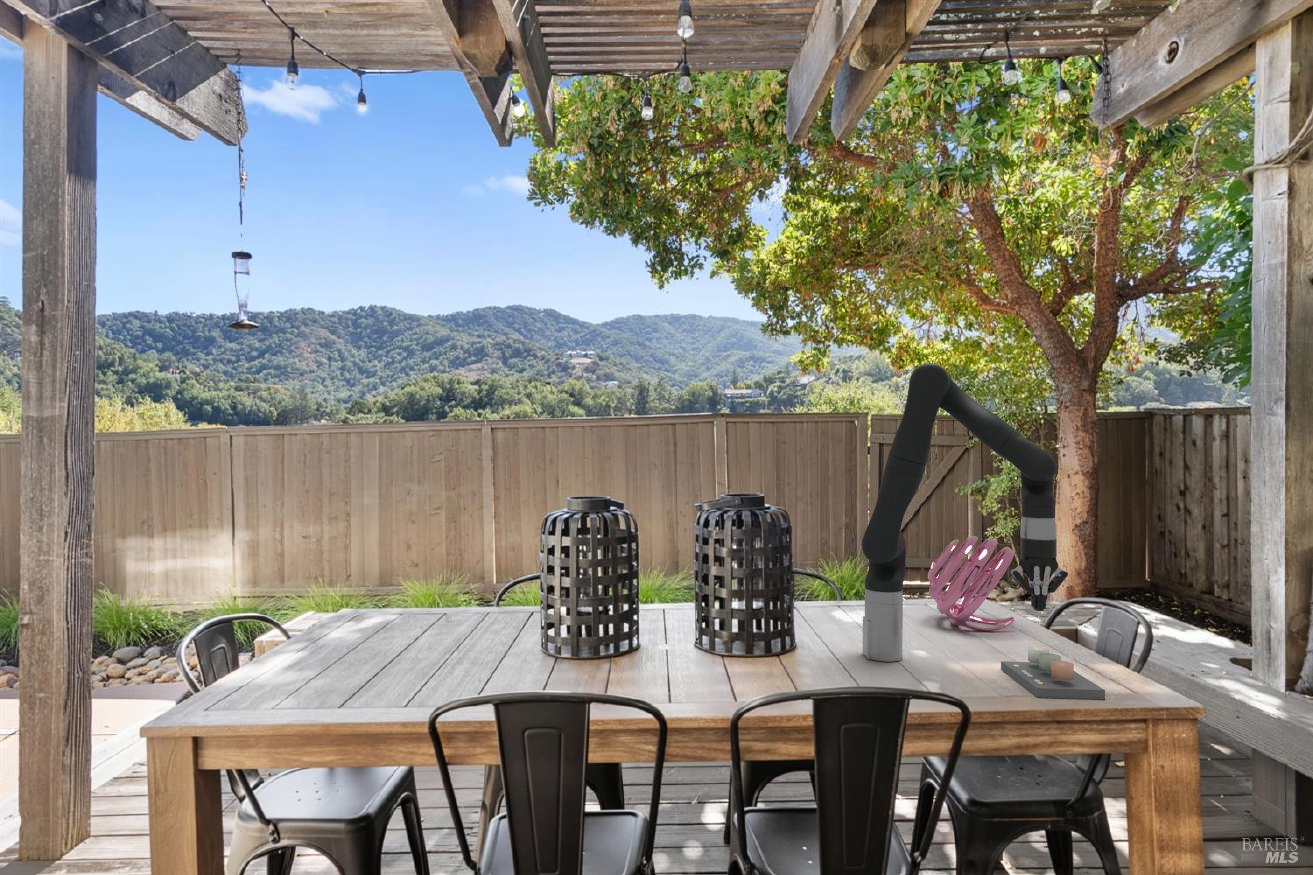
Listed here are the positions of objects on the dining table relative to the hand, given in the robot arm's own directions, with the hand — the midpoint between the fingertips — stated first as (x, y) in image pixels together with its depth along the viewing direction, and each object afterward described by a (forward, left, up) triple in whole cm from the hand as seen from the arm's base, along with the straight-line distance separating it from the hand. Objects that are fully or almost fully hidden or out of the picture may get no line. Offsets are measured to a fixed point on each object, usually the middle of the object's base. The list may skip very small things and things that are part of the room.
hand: (1038, 610), depth 177 cm
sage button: (0, -6, -12) cm, 13 cm away
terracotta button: (0, -12, -12) cm, 17 cm away
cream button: (0, 0, -12) cm, 12 cm away
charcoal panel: (0, -6, -15) cm, 16 cm away
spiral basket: (+1, +49, -16) cm, 51 cm away
